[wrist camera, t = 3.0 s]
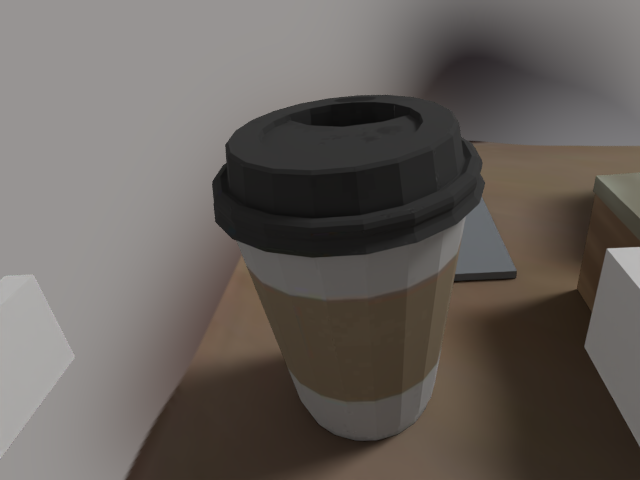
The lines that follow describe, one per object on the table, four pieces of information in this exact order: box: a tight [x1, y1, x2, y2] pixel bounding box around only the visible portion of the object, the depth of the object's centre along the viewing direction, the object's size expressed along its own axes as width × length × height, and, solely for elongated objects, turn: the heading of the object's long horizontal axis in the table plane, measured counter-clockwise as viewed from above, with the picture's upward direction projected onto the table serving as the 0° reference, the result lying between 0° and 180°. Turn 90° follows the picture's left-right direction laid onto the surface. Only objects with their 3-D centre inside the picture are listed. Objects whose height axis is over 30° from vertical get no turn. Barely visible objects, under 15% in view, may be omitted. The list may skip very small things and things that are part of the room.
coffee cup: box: [212, 95, 485, 440], centre depth 23 cm, size 11×11×15 cm
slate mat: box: [454, 197, 517, 281], centre depth 39 cm, size 13×13×1 cm
